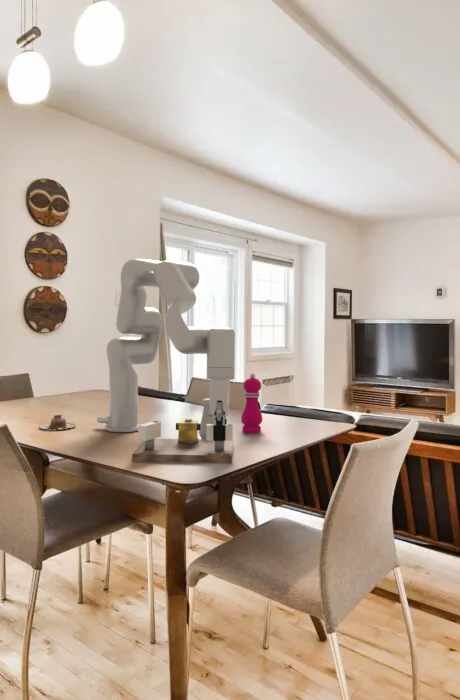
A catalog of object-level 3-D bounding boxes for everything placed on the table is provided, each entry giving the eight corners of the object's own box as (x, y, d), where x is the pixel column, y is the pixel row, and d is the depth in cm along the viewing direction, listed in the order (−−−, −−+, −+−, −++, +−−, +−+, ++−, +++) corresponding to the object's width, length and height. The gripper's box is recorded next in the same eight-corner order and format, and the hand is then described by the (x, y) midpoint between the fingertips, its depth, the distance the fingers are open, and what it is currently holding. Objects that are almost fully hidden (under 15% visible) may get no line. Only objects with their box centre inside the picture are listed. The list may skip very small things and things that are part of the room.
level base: (132, 461, 131) (132, 428, 131) (145, 445, 150) (146, 416, 149) (231, 463, 130) (232, 430, 130) (233, 446, 149) (233, 418, 149)
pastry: (81, 426, 179) (81, 413, 179) (67, 433, 167) (67, 419, 167) (48, 425, 180) (49, 412, 180) (33, 431, 168) (33, 418, 168)
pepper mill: (260, 434, 167) (261, 374, 167) (239, 433, 169) (240, 373, 168) (263, 430, 174) (264, 372, 174) (243, 429, 176) (243, 372, 175)
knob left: (145, 451, 132) (145, 425, 132) (137, 450, 134) (137, 424, 133) (160, 446, 139) (161, 421, 138) (153, 445, 140) (153, 420, 140)
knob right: (206, 450, 135) (206, 424, 134) (206, 448, 137) (207, 423, 137) (232, 451, 134) (232, 425, 134) (232, 449, 137) (232, 423, 137)
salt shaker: (210, 442, 154) (210, 400, 153) (195, 440, 157) (195, 398, 156) (220, 439, 159) (221, 398, 158) (205, 437, 162) (206, 397, 161)
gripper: (208, 370, 144) (208, 430, 144) (204, 376, 126) (203, 443, 127) (234, 371, 143) (234, 430, 144) (234, 376, 126) (233, 444, 127)
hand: (220, 436), depth 135 cm, fingers open, 9 cm apart
